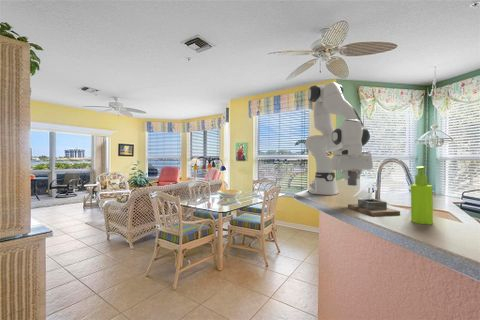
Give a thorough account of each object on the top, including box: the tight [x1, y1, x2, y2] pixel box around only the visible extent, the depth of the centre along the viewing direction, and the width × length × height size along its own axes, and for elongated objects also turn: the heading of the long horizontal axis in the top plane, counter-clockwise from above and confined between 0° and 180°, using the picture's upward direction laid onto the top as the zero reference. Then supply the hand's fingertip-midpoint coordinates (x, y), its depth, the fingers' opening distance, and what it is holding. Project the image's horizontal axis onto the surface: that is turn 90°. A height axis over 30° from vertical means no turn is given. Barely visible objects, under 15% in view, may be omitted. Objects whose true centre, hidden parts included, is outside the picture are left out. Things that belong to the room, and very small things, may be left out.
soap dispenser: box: [410, 165, 434, 225], centre depth 76 cm, size 6×7×20 cm
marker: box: [347, 169, 358, 186], centre depth 107 cm, size 4×4×8 cm
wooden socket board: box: [347, 198, 401, 217], centre depth 93 cm, size 16×12×4 cm
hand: (352, 179), depth 107 cm, fingers closed on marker, 4 cm apart
